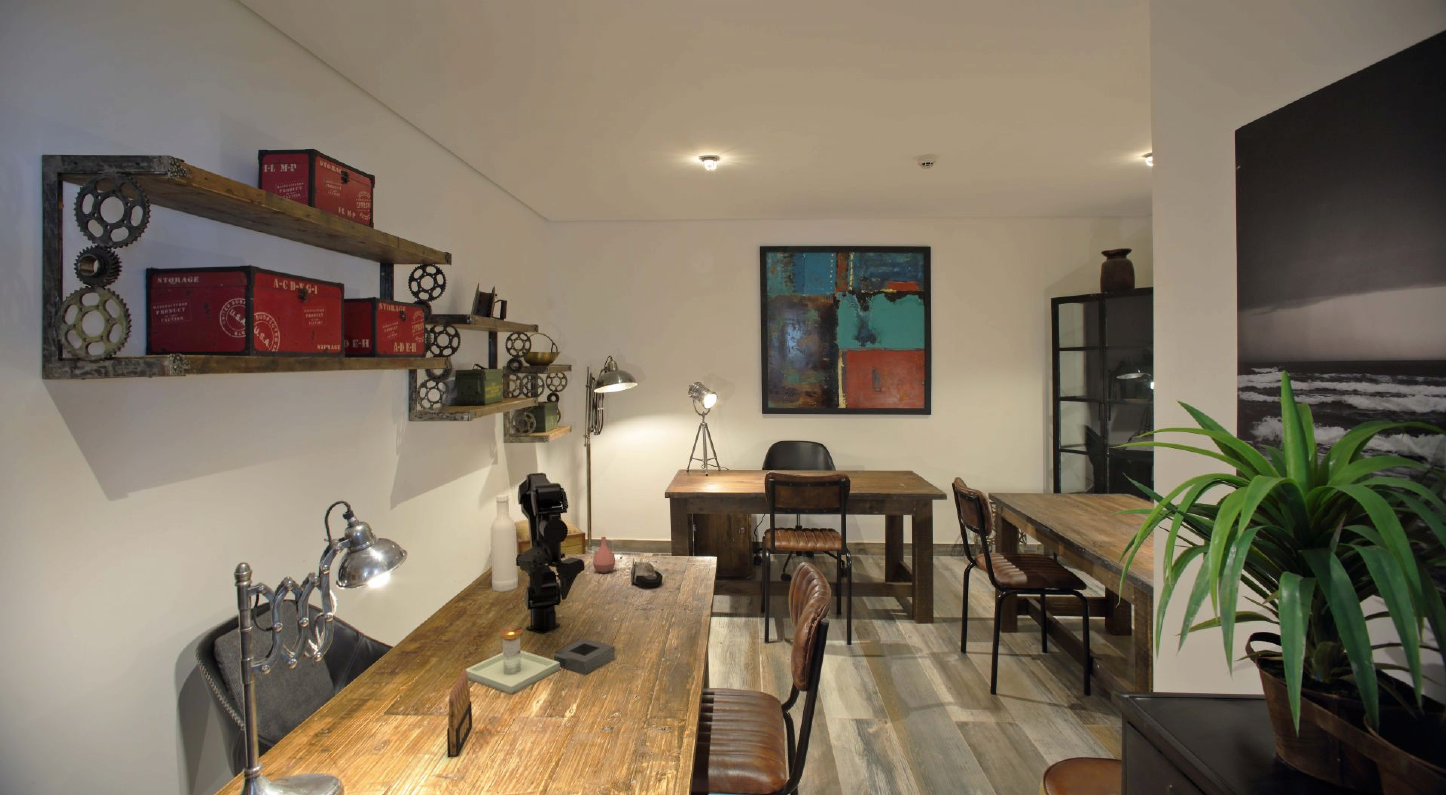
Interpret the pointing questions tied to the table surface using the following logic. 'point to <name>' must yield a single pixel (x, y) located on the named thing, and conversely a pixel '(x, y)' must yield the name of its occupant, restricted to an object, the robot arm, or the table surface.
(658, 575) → the caster wheel
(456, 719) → the ammunition clip
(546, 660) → the tray
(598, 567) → the pink vase
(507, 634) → the light grey cylindrical piece
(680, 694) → the table surface
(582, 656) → the block
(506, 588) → the bottle
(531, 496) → the robot arm
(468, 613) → the table surface
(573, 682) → the table surface
